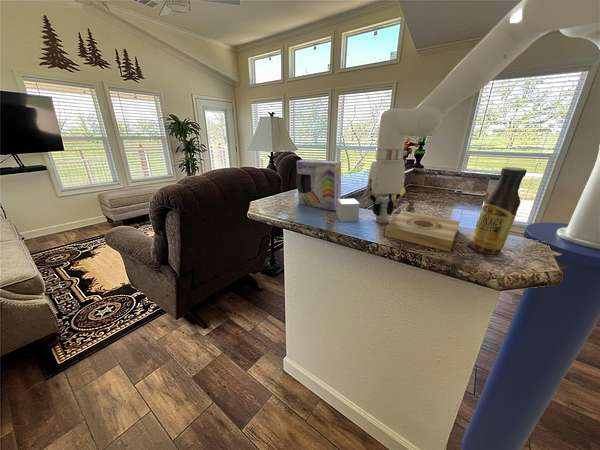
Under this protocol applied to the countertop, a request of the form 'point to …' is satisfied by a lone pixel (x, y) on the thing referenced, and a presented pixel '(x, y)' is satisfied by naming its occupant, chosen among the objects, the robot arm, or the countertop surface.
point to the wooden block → (423, 230)
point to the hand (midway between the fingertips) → (382, 213)
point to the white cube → (348, 209)
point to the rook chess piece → (383, 211)
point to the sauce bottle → (498, 212)
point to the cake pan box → (319, 183)
